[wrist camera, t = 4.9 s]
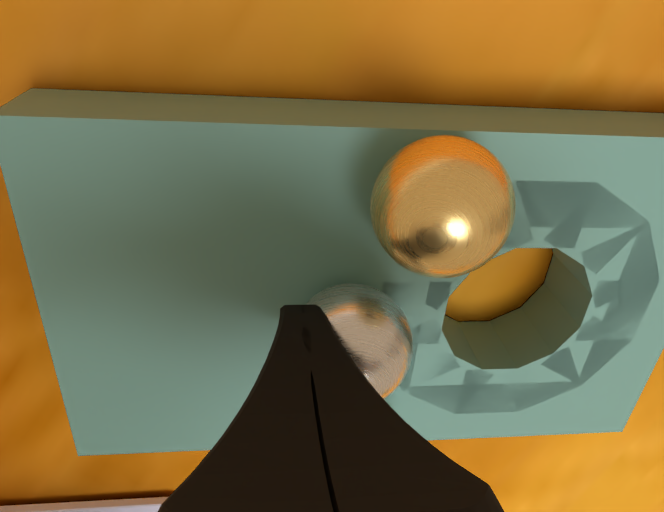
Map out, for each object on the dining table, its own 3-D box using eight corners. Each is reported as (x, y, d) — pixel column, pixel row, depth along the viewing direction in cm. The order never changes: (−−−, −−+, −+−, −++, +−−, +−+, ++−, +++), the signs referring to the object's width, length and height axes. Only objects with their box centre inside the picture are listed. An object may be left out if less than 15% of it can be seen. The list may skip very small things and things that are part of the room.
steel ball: (287, 432, 13) (297, 341, 16) (412, 435, 13) (402, 344, 16) (280, 344, 11) (293, 257, 14) (426, 348, 11) (412, 260, 14)
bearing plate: (99, 398, 19) (78, 455, 17) (31, 88, 13) (-13, 115, 11) (586, 382, 21) (622, 431, 19) (698, 114, 16) (766, 140, 14)
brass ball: (496, 249, 14) (497, 319, 11) (376, 227, 14) (350, 289, 12) (527, 128, 12) (538, 176, 9) (391, 110, 13) (364, 150, 10)
